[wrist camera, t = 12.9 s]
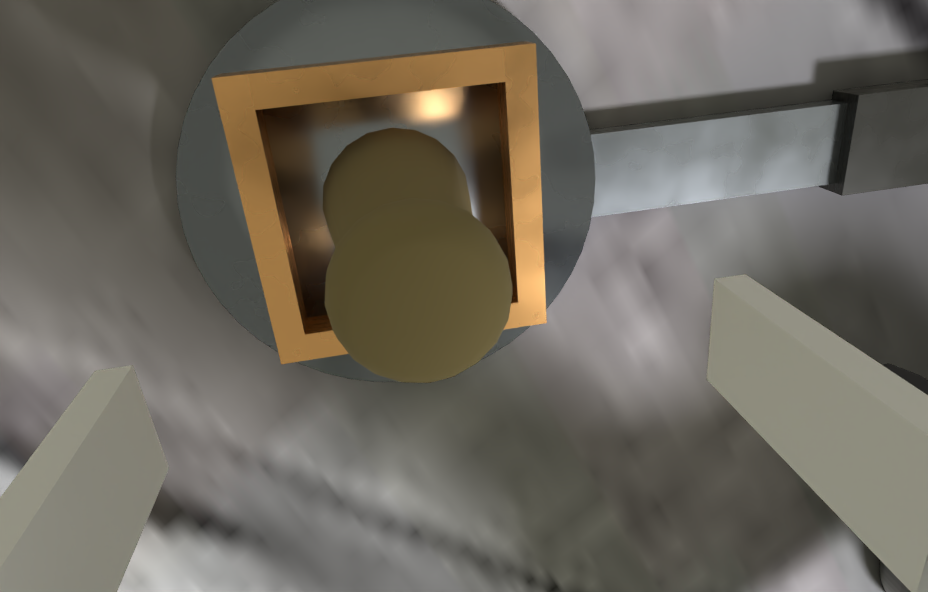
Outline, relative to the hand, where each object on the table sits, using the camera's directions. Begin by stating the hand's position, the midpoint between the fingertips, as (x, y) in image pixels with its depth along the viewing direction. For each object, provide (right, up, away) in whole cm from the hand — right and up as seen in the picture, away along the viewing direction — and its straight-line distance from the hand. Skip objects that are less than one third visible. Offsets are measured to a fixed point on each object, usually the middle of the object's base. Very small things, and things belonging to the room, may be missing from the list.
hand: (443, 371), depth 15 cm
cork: (-2, +6, +12) cm, 13 cm away
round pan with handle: (+6, +7, +14) cm, 17 cm away
